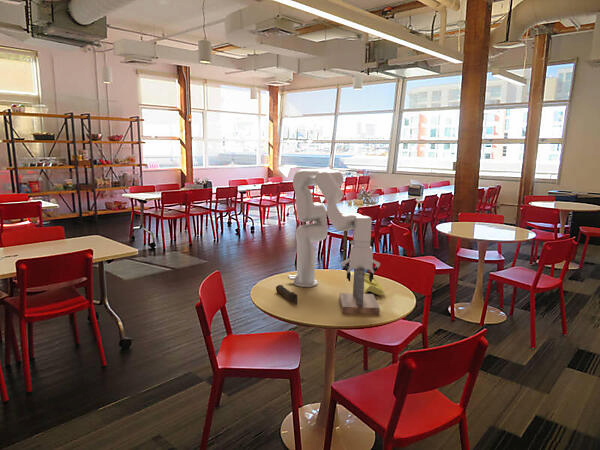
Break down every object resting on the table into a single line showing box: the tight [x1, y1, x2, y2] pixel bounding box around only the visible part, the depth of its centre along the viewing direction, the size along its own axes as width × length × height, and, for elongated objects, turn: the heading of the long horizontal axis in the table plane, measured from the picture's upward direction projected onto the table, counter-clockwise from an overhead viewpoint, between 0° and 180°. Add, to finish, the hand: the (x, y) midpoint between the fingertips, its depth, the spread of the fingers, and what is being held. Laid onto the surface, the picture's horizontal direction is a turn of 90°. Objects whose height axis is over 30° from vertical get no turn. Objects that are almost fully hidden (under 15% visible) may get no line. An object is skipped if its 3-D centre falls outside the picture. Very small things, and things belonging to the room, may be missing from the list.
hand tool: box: [275, 284, 298, 305], centre depth 195 cm, size 19×4×5 cm, turn 25°
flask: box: [352, 268, 366, 306], centre depth 186 cm, size 4×14×18 cm, turn 0°
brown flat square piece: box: [338, 292, 380, 315], centre depth 187 cm, size 16×17×3 cm
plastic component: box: [364, 272, 385, 296], centre depth 210 cm, size 20×7×10 cm
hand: (359, 280), depth 185 cm, fingers open, 9 cm apart
